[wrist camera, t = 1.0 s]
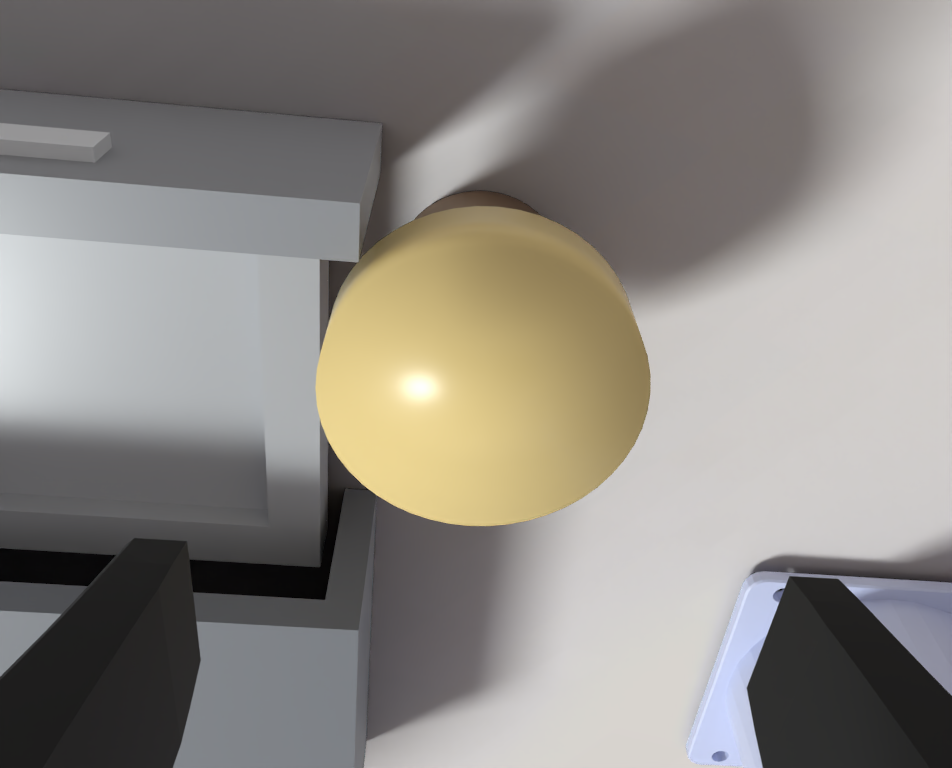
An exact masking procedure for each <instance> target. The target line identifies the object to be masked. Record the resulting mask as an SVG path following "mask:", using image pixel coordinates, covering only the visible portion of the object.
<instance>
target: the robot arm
mask: <svg viewBox="0 0 952 768" xmlns="http://www.w3.org/2000/svg"><path fill="white" fill-rule="evenodd" d="M782 588H785V589H783V590H782V591H777V590H779V589H782ZM775 591H776V592H775ZM200 662H201V657H200V649H199V640H198V631H197V622H196V614H195V605H194V596H193V587H192V579H191V570H190V561H189V552H188V544H187V541H177V540H160V539H143V538H134V539H132V540H131V541H130V542H129V543H127V544H126V545H125V546H124V547H123V548H122V549H121V550H120V552H119V553H118V554H117V555H116V556H115V557H114V558H113V559H112V560H111V561H110V562H109V564H108V565H107V566H106V567H105V568H104V569H103V570H102V571H101V572H100V573H99V575H98V576H97V577H96V578H95V579H94V580H93V581H92V582H91V583H90V584H89V585H88V587H87V588H86V589H85V590H84V591H83V592H82V593H81V594H80V595H79V596H78V597H77V598H76V599H75V601H74V602H73V603H72V604H71V605H70V606H69V607H68V608H67V609H66V610H65V611H64V612H63V613H62V614H61V615H60V616H59V617H58V618H57V620H56V621H55V622H54V623H53V624H52V625H51V626H50V627H49V628H48V629H47V630H46V631H45V632H44V633H43V634H42V635H41V636H40V637H39V638H38V639H37V640H36V641H35V642H34V643H33V644H32V645H31V646H30V647H29V648H28V649H27V650H26V651H25V652H24V653H23V654H22V655H21V656H20V657H19V658H18V659H17V660H16V661H15V662H14V663H13V664H12V665H11V666H10V667H9V668H8V669H7V670H6V671H5V672H4V673H3V674H2V675H1V676H0V768H173V766H174V763H175V760H176V757H177V754H178V751H179V748H180V746H181V742H182V738H183V734H184V730H185V726H186V722H187V718H188V714H189V710H190V706H191V701H192V697H193V693H194V688H195V684H196V679H197V675H198V671H199V666H200ZM686 751H687V755H688V758H689V759H690V761H692V762H694V763H696V764H701V765H722V766H743V768H952V583H949V582H932V581H916V580H900V579H883V578H867V577H850V576H834V575H818V574H801V573H785V572H769V571H763V572H757V573H754V574H752V575H750V576H749V577H748V578H746V579H745V581H744V583H743V585H742V588H741V590H740V593H739V596H738V599H737V602H736V605H735V607H734V610H733V613H732V616H731V619H730V622H729V624H728V627H727V630H726V633H725V636H724V639H723V642H722V644H721V647H720V650H719V653H718V656H717V659H716V661H715V664H714V667H713V670H712V673H711V676H710V679H709V681H708V684H707V687H706V690H705V693H704V696H703V698H702V701H701V704H700V707H699V710H698V713H697V716H696V718H695V721H694V724H693V727H692V730H691V733H690V735H689V738H688V741H687V744H686Z"/></svg>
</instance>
